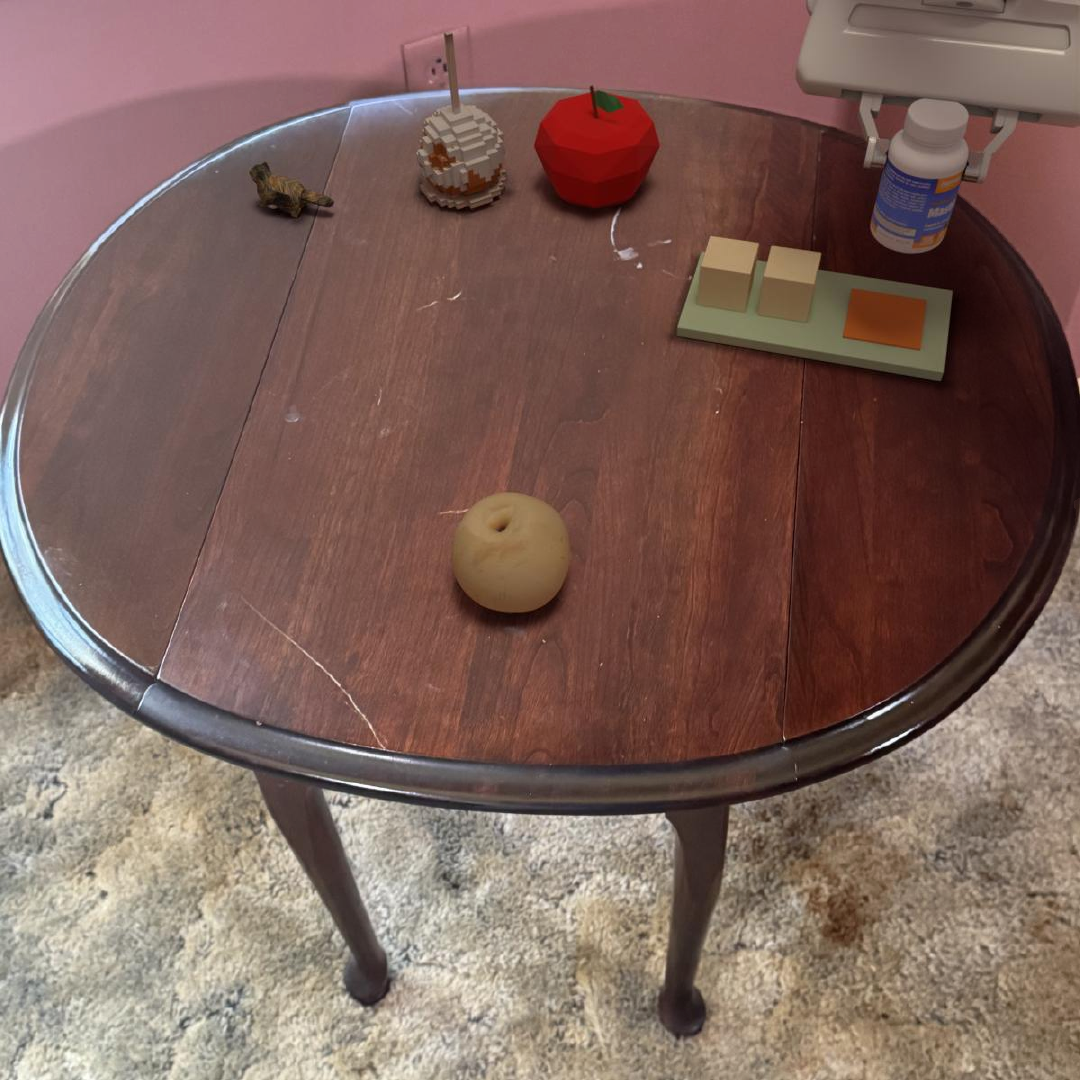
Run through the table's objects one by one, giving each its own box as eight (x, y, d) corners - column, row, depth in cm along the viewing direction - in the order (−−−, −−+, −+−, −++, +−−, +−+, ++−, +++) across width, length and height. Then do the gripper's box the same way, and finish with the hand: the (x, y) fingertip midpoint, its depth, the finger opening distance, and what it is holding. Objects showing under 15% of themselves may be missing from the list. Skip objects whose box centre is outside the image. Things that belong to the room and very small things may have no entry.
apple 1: (589, 618, 74) (533, 587, 67) (486, 629, 77) (424, 600, 71) (591, 508, 76) (538, 468, 70) (492, 523, 80) (432, 487, 74)
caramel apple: (409, 179, 105) (386, 25, 93) (482, 155, 107) (469, 0, 95) (444, 223, 101) (425, 67, 89) (520, 196, 103) (511, 40, 91)
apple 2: (515, 187, 104) (510, 88, 96) (597, 141, 108) (598, 42, 100) (594, 238, 99) (595, 137, 91) (677, 187, 103) (684, 87, 95)
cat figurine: (257, 191, 104) (255, 154, 101) (338, 217, 104) (338, 182, 101) (245, 208, 103) (242, 172, 99) (326, 235, 102) (327, 200, 99)
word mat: (949, 299, 92) (966, 250, 88) (940, 381, 87) (957, 333, 83) (700, 260, 97) (705, 211, 93) (676, 336, 91) (680, 287, 87)
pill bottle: (927, 265, 80) (964, 144, 72) (857, 241, 82) (885, 121, 74) (954, 224, 83) (992, 104, 75) (885, 202, 84) (915, 82, 77)
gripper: (816, -69, 74) (773, 143, 77) (1142, -37, 70) (1087, 186, 72) (815, -33, 80) (775, 163, 83) (1114, -2, 76) (1064, 203, 79)
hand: (923, 174), depth 78 cm, fingers closed on pill bottle, 5 cm apart
